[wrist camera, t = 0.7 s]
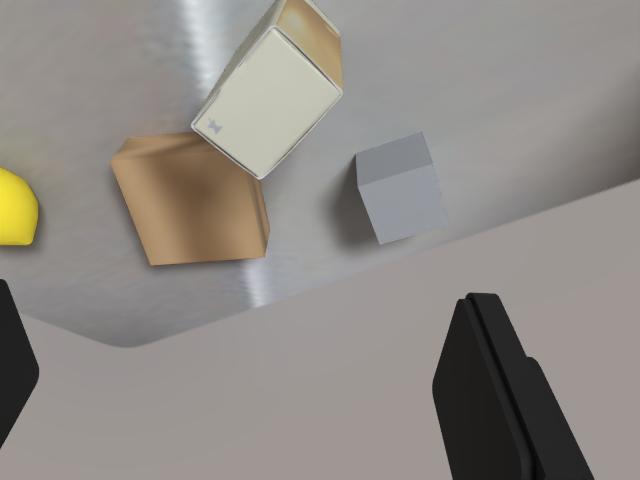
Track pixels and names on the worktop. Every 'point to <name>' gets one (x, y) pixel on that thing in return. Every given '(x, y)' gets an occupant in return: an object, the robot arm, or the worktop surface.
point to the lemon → (16, 210)
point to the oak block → (190, 200)
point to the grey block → (400, 189)
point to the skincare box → (274, 87)
